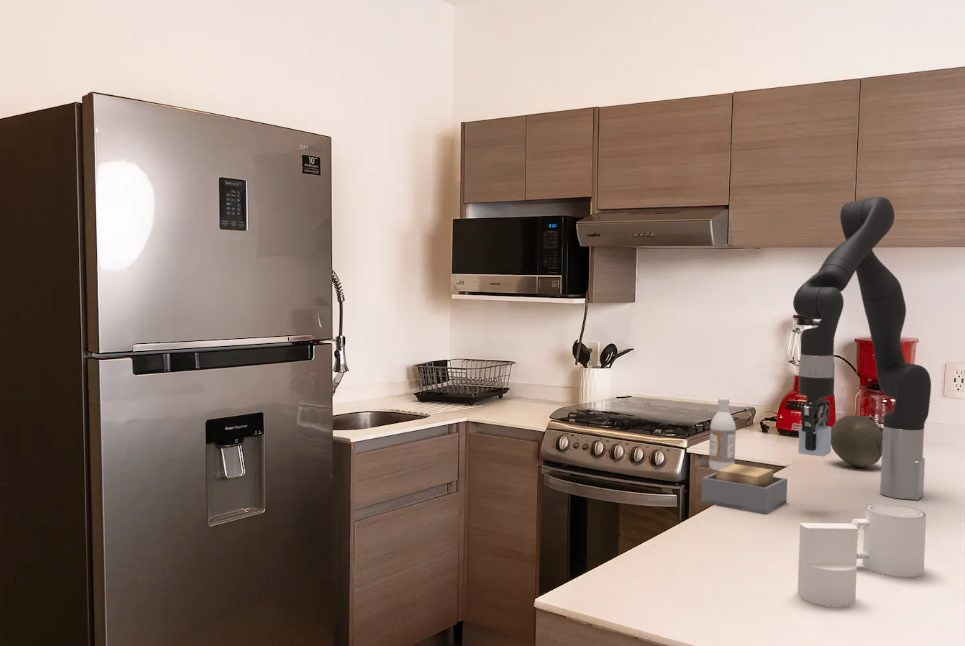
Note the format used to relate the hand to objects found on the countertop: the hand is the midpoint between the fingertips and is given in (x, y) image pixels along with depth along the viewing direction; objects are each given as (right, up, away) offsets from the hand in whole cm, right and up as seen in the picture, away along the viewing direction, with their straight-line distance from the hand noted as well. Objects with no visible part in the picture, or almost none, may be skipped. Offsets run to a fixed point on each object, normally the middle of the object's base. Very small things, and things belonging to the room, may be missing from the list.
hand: (814, 447), depth 194 cm
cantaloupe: (+32, -13, +52) cm, 62 cm away
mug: (-1, -17, -37) cm, 41 cm away
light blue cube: (0, -1, 0) cm, 1 cm away
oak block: (-13, -14, +9) cm, 21 cm away
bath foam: (-8, -13, +45) cm, 48 cm away
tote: (-13, -14, +9) cm, 22 cm away
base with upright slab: (-19, -17, -52) cm, 58 cm away
